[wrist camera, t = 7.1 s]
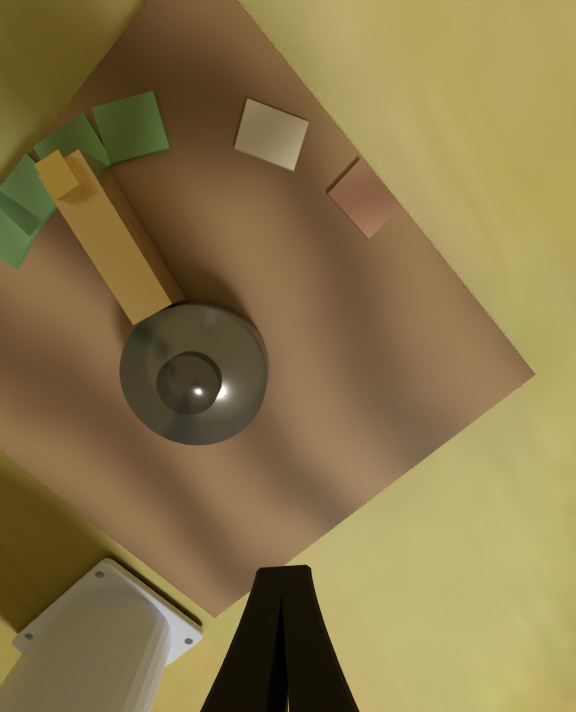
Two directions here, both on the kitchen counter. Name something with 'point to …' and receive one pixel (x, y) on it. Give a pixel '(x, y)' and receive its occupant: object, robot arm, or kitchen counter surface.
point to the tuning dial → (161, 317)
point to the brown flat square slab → (240, 292)
